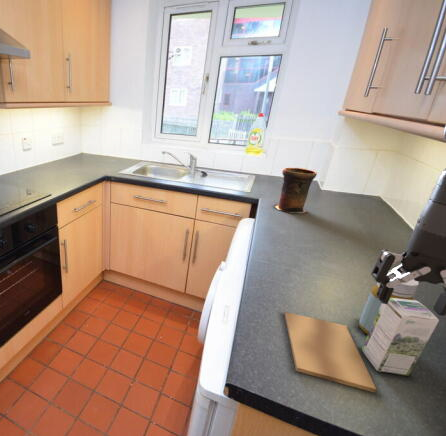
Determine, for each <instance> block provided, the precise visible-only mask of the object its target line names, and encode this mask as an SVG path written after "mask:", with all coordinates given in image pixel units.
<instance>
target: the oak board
mask: <svg viewBox="0 0 446 436" xmlns="http://www.w3.org/2000/svg"><path fill="white" fill-rule="evenodd" d="M284 320H285V324H286V330H287V334H288V335H287V336H288V338H289V343H290V349H291V352H292V353H291V354H292V359H293V362H294V363H293V364H294V368H295V371H296V372H298V373H302V374H306V375H309V376H313V377H317V378H320V379H324V380H326V381H330V382H335V383H338V384H342V385H345V386H349V387H352V388H356V389H360V390H363V391H366V392H371V393H373V394H375V393H376V391H377V387H376V385H375V383H374V381H373V379H372V377H371V375H370V372H369V371H368V369H367V367H366V364H365V362H364V360H363V358H362V356H361V354H360V352H359V349H358V347H357V345H356V343H355V341H354V339H353V337H352V335H351V333H350V331H349V329H348V326H347V325H346V324H341V323H337V322H331V321H327V320H324V319H318V318H314V317H309V316H307V315H301V314H296V313H291V312H287V311H285V312H284Z"/></svg>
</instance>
